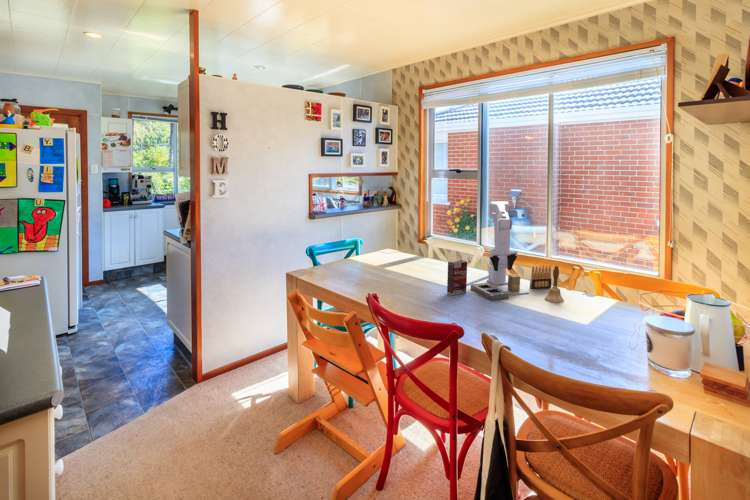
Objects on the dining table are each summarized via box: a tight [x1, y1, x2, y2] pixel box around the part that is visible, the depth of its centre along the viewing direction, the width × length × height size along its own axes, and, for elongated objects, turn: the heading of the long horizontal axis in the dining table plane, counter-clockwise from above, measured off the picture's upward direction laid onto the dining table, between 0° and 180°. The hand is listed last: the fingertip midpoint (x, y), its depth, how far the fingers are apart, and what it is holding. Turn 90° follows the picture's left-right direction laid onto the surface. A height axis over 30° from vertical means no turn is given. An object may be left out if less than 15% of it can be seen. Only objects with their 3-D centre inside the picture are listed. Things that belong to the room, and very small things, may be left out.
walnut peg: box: [507, 274, 521, 292], centre depth 205 cm, size 4×4×8 cm
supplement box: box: [446, 259, 468, 296], centre depth 204 cm, size 9×5×16 cm, turn 117°
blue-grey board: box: [500, 287, 529, 297], centre depth 206 cm, size 10×10×1 cm
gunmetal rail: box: [470, 282, 510, 302], centre depth 203 cm, size 20×9×2 cm, turn 15°
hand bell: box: [543, 265, 565, 304], centre depth 191 cm, size 8×8×16 cm
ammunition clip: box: [529, 264, 552, 291], centre depth 209 cm, size 11×2×12 cm, turn 98°
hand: (502, 270), depth 206 cm, fingers open, 7 cm apart
